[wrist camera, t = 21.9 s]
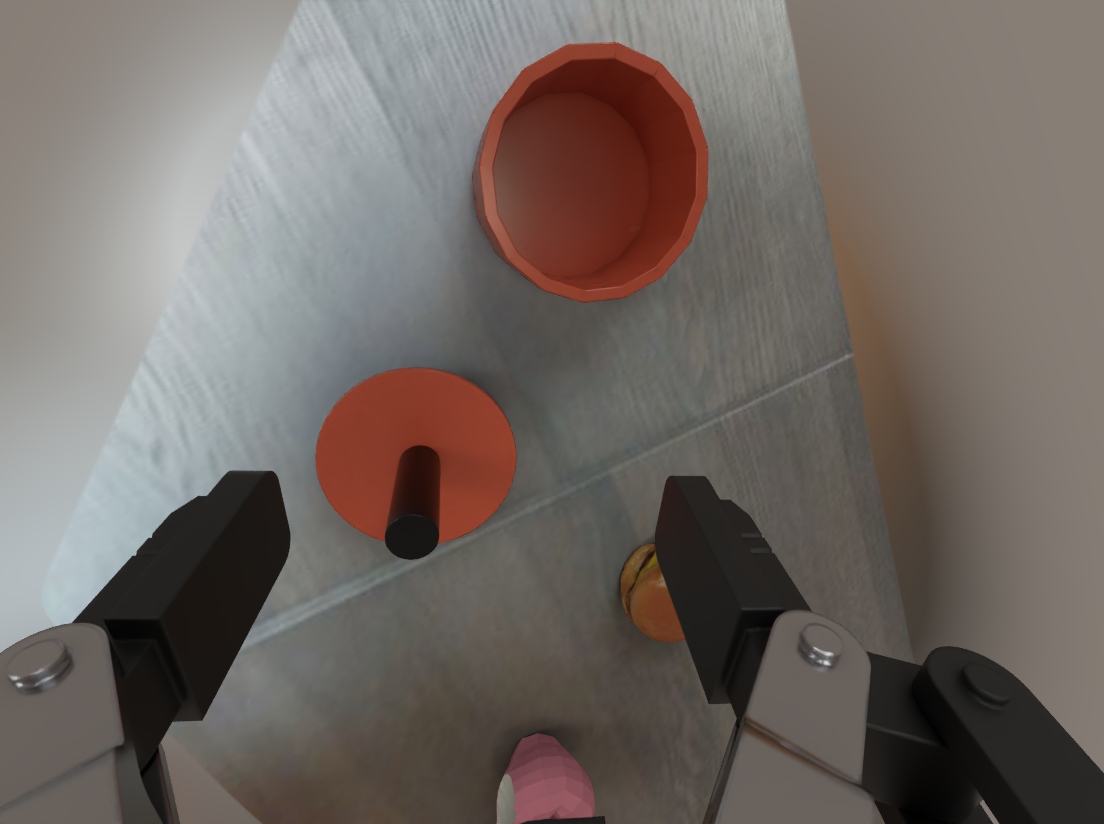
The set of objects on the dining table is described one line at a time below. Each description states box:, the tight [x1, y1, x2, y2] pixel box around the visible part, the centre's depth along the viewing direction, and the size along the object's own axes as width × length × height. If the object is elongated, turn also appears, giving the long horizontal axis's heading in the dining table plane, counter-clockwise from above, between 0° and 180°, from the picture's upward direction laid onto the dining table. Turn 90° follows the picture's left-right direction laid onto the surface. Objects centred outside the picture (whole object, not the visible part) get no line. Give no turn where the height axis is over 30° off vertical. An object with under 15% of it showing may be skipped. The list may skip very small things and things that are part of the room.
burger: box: [621, 544, 686, 642], centre depth 45 cm, size 10×9×5 cm
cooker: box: [472, 42, 708, 302], centre depth 30 cm, size 12×12×8 cm
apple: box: [497, 733, 595, 824], centre depth 47 cm, size 10×9×10 cm
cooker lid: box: [316, 367, 516, 560], centre depth 32 cm, size 13×13×10 cm
